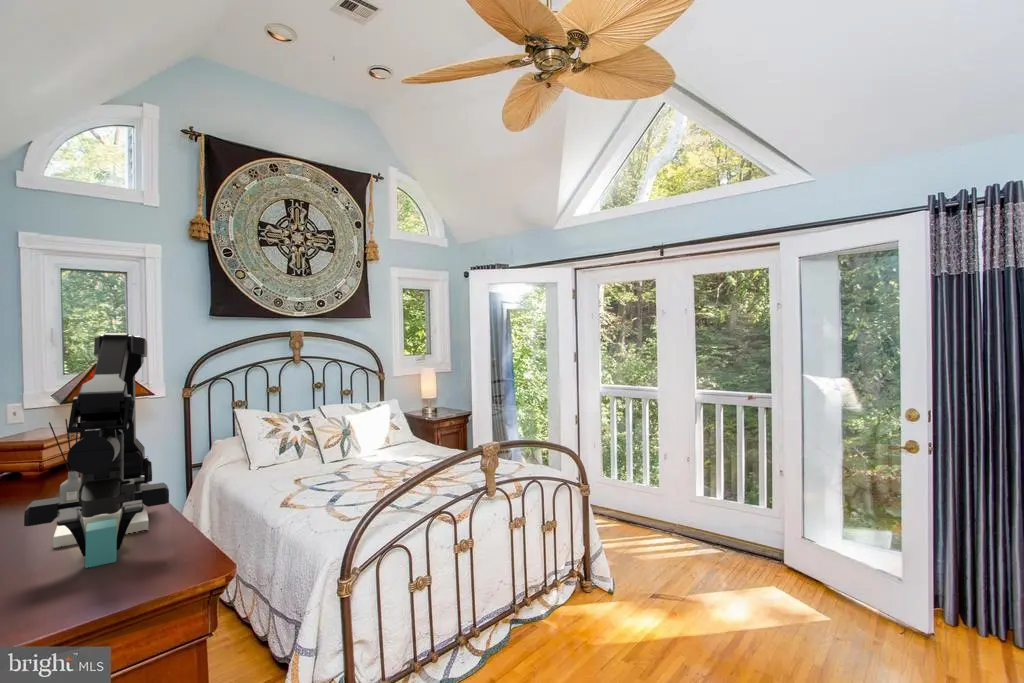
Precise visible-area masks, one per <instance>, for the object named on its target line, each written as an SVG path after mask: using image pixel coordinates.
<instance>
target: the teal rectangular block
mask: <svg viewBox="0 0 1024 683" xmlns="http://www.w3.org/2000/svg"><path fill="white" fill-rule="evenodd" d="M85 535H86V557H85V564H84V565H85V569H87V568H88V567H89V568H93V567H98V566H103V565H106V564H107V565H108V564H111V563H116V562H117V551H118V550H117V519H112V520H106V521H100V522H94V523H88V524H87V528H86V532H85ZM89 568H88V569H89Z"/></svg>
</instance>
